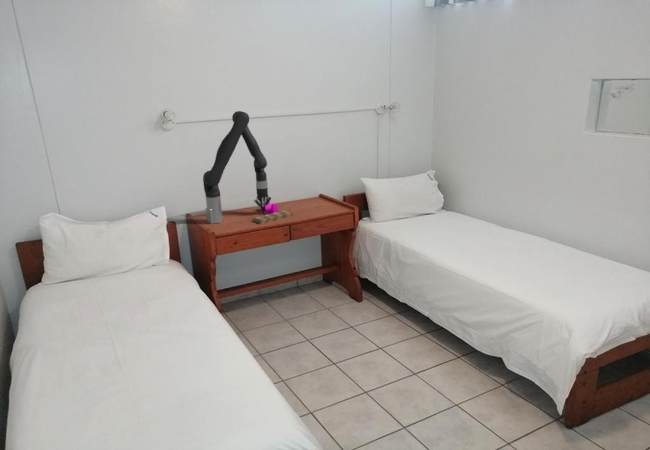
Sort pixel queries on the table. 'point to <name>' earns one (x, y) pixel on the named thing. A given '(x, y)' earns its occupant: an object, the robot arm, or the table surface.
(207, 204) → the robot arm
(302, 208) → the table surface
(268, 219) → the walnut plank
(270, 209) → the toy block
